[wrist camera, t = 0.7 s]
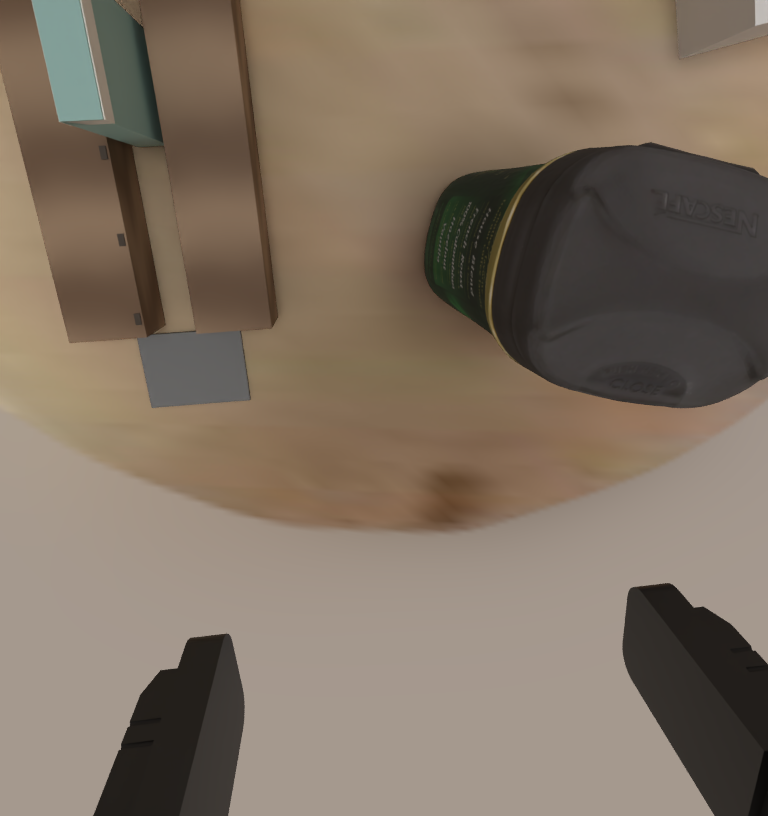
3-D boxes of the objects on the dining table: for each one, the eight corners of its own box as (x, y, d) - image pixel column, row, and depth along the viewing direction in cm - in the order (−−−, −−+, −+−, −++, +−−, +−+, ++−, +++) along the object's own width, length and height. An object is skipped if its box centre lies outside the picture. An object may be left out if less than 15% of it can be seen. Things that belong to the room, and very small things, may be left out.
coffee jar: (410, 300, 34) (491, 397, 16) (440, 161, 31) (573, 99, 14) (559, 329, 35) (782, 446, 18) (599, 197, 33) (902, 183, 15)
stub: (116, 36, 28) (20, -41, 19) (151, 34, 28) (71, -42, 19) (137, 146, 29) (57, 121, 21) (170, 145, 29) (104, 119, 21)
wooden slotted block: (9, -42, 27) (-38, -79, 23) (233, -50, 27) (219, -86, 24) (96, 329, 33) (68, 343, 29) (277, 316, 33) (271, 328, 30)
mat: (137, 335, 33) (136, 335, 33) (240, 327, 33) (239, 328, 33) (152, 406, 35) (151, 407, 34) (250, 398, 35) (250, 399, 35)
